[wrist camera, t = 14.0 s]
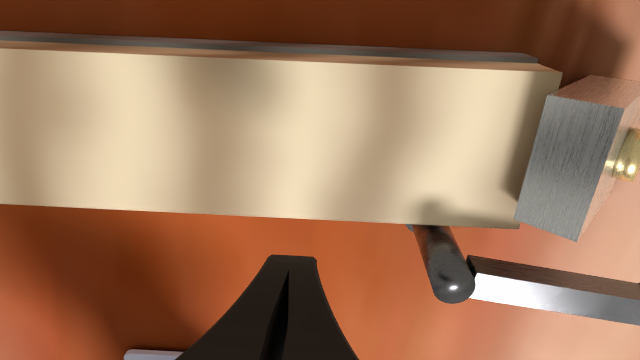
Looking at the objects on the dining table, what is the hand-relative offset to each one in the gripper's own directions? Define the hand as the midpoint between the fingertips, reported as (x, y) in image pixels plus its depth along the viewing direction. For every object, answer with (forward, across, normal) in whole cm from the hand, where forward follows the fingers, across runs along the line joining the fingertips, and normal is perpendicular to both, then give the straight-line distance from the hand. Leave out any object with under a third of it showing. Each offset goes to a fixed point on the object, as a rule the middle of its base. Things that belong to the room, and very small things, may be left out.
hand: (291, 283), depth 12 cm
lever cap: (+6, -10, -3) cm, 12 cm away
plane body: (+9, +3, -2) cm, 10 cm away
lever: (+8, -10, +3) cm, 13 cm away
